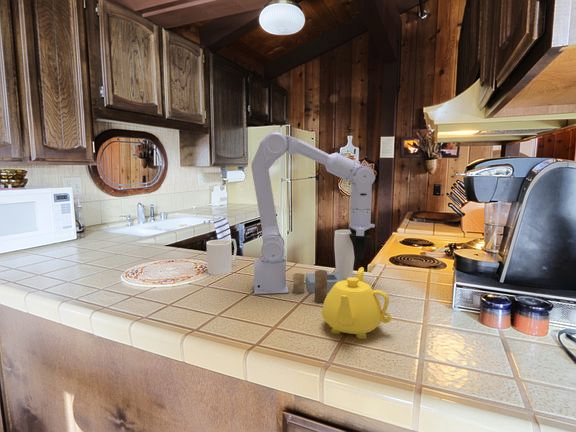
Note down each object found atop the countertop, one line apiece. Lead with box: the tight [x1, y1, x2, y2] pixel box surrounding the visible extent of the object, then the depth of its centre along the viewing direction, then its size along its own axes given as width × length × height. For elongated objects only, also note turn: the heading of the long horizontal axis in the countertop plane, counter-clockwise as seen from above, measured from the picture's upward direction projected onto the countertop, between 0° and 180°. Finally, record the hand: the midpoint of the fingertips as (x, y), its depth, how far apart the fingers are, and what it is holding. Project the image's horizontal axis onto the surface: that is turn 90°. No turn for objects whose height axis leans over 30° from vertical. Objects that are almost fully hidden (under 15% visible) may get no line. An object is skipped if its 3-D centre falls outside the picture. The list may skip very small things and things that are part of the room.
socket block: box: [305, 272, 343, 294], centre depth 100 cm, size 10×8×3 cm
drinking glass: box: [333, 229, 355, 280], centre depth 108 cm, size 7×7×15 cm
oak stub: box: [292, 272, 305, 295], centre depth 97 cm, size 3×3×5 cm
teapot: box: [321, 266, 392, 340], centre depth 74 cm, size 20×15×12 cm
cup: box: [206, 238, 238, 276], centre depth 117 cm, size 8×12×10 cm
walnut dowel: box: [314, 269, 328, 304], centre depth 90 cm, size 3×3×8 cm
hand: (358, 255), depth 98 cm, fingers open, 7 cm apart
